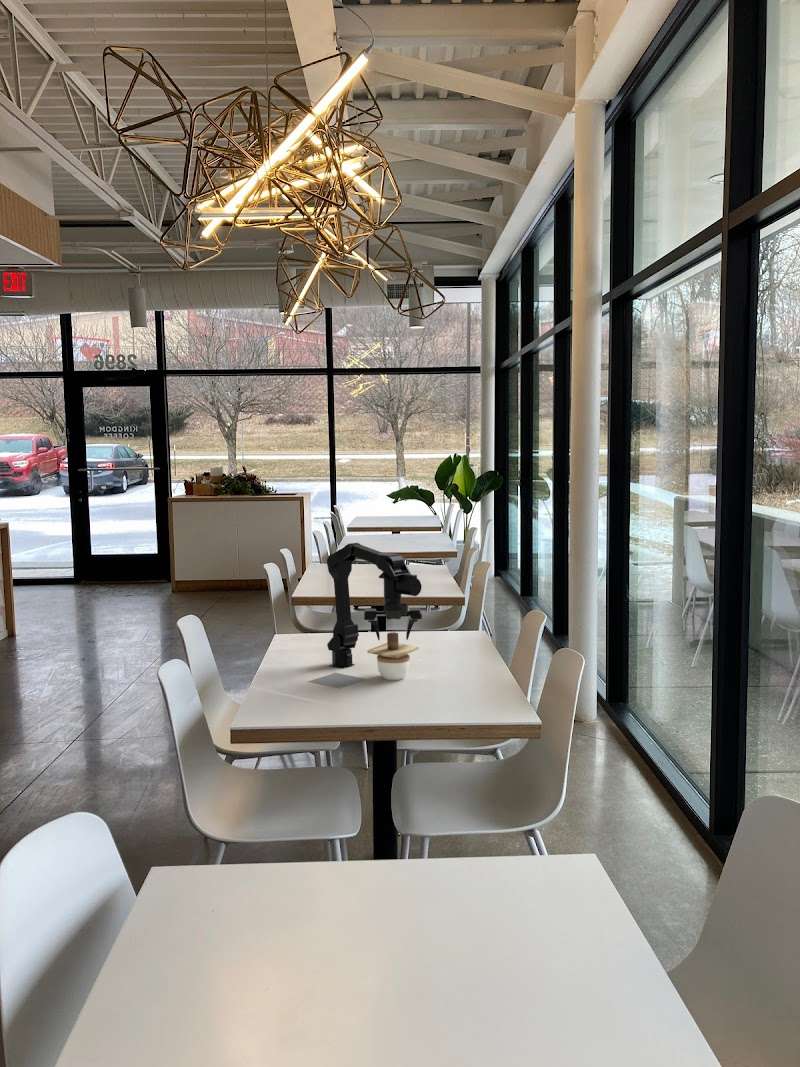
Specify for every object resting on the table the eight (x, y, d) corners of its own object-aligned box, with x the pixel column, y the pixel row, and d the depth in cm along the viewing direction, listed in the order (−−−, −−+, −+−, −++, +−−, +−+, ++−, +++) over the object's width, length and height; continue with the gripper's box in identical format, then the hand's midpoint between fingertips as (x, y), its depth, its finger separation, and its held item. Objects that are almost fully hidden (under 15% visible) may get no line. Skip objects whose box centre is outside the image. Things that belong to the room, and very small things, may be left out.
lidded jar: (411, 675, 297) (411, 647, 296) (408, 683, 286) (408, 655, 286) (379, 674, 298) (379, 647, 297) (375, 683, 288) (375, 654, 287)
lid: (367, 652, 290) (366, 635, 289) (389, 644, 300) (389, 627, 299) (396, 658, 283) (396, 640, 282) (418, 649, 292) (418, 632, 292)
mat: (307, 682, 289) (307, 681, 288) (335, 673, 300) (335, 672, 300) (339, 689, 280) (339, 688, 280) (367, 680, 291) (367, 678, 291)
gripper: (364, 597, 282) (364, 645, 283) (422, 596, 283) (423, 644, 284) (363, 591, 293) (364, 638, 294) (420, 590, 294) (420, 637, 295)
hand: (393, 639), depth 292 cm, fingers open, 9 cm apart
